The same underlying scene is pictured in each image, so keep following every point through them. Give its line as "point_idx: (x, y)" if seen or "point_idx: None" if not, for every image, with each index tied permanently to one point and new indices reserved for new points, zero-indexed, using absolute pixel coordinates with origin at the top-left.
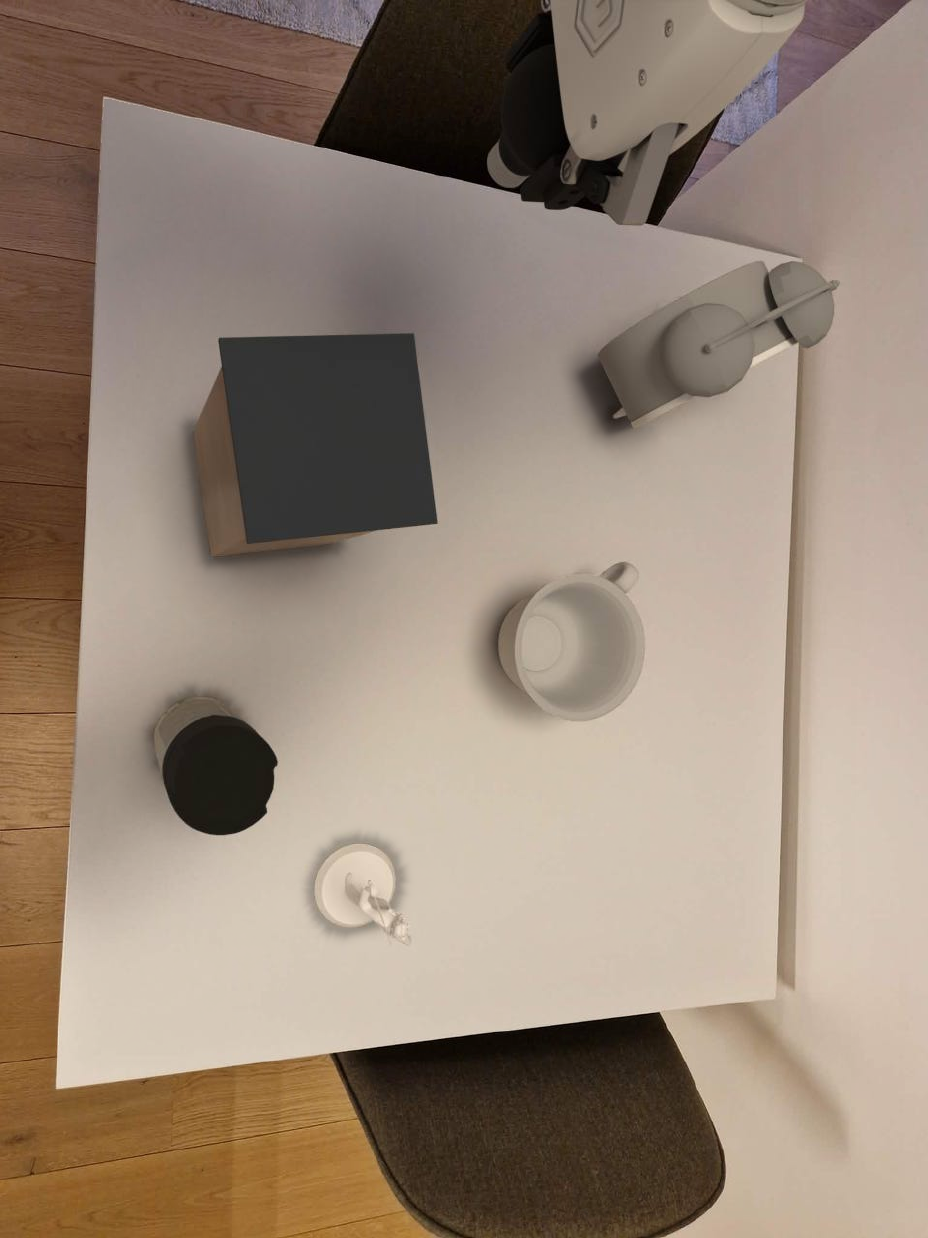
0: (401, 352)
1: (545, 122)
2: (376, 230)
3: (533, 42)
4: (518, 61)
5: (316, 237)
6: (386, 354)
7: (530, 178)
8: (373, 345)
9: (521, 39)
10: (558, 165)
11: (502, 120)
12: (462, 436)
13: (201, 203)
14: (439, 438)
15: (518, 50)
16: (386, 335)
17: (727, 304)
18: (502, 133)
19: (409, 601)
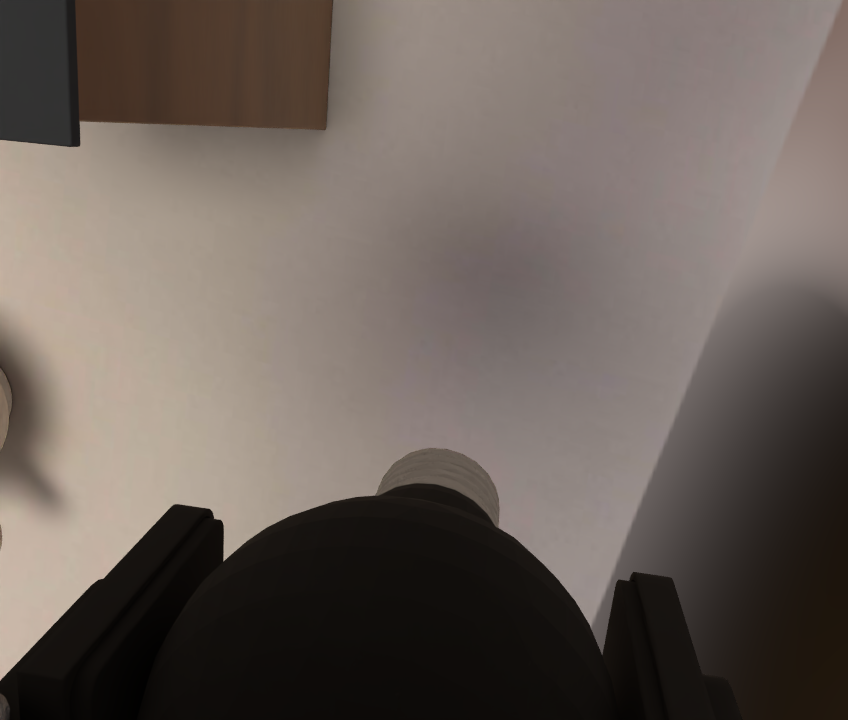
0: (19, 96)
1: (216, 684)
2: (617, 304)
3: (641, 718)
4: (623, 624)
5: (620, 200)
6: (14, 51)
7: (186, 553)
8: (35, 16)
9: (678, 665)
10: (19, 690)
11: (391, 500)
12: (281, 364)
13: (705, 12)
14: (282, 326)
15: (650, 638)
16: (63, 63)
17: None
18: (446, 503)
19: (43, 216)
